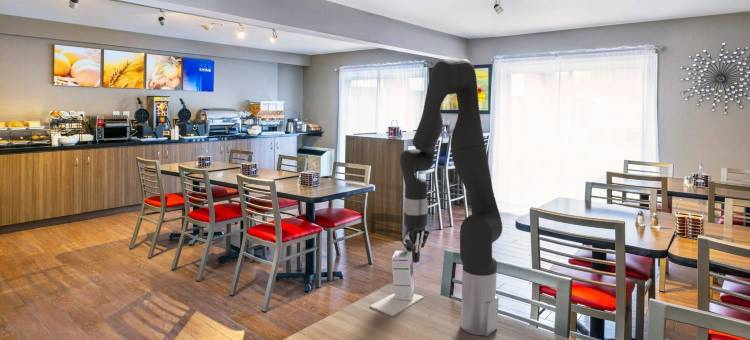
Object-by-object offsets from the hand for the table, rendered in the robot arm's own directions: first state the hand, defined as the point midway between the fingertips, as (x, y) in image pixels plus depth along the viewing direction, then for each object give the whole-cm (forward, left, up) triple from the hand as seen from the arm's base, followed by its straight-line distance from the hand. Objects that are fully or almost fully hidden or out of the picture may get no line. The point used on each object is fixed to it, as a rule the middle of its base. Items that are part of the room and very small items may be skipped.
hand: (415, 261), depth 154 cm
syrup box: (0, +6, -10) cm, 12 cm away
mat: (0, +10, -11) cm, 15 cm away
